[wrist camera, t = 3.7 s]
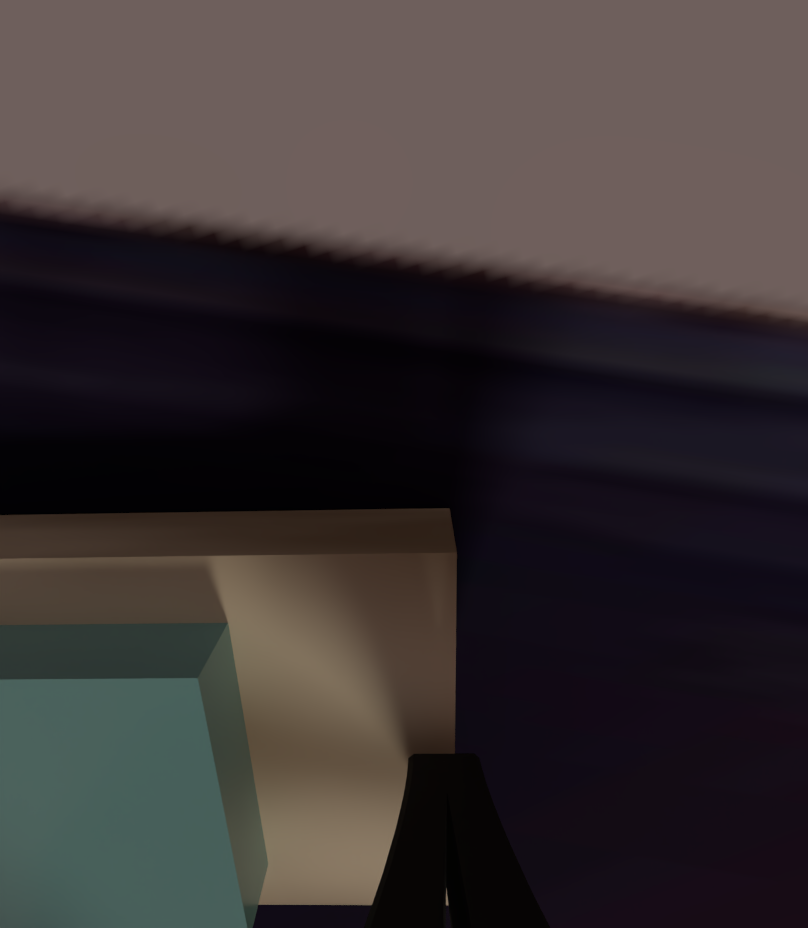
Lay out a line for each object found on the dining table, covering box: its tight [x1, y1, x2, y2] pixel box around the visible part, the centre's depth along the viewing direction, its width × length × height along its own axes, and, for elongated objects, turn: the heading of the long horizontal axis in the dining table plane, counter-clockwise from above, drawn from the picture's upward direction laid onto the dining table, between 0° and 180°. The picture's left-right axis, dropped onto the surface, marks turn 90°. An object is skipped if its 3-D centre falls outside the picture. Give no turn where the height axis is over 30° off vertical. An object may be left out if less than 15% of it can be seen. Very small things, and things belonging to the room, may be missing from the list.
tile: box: [0, 623, 268, 928], centre depth 11 cm, size 7×7×2 cm
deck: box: [0, 508, 457, 905], centre depth 12 cm, size 10×16×2 cm, turn 91°
